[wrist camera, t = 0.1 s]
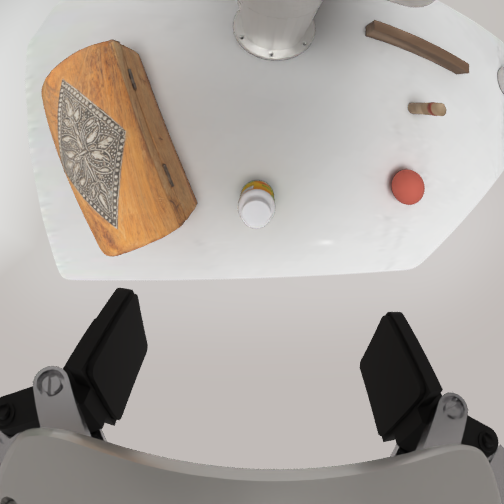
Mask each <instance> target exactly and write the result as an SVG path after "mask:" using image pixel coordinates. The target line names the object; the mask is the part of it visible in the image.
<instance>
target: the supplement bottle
mask: <svg viewBox="0 0 504 504" xmlns="http://www.w3.org/2000/svg"><path fill="white" fill-rule="evenodd" d="M238 212H239V215H240V217H241V218H242V220H243V222H244V223H245V224H246V225H247V226H248V227H251V228H255V229H258V228H262V227H264V226H266V225H267V224H268V223H269V221H270V220H271V219H272V217H273V216H274V213H275V200H274V193H273V190H272V188H271V187H270V186H269V185H268V184H267V183H266V182H264V181H260V180H254V181H251V182H249V183H247V184H246V185H245V186H244V187H243V189H242V191H241V195H240V199H239V202H238Z"/></svg>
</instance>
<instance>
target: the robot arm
mask: <svg viewBox="0 0 504 504" xmlns="http://www.w3.org/2000/svg"><path fill="white" fill-rule="evenodd" d="M388 1H391V2H394V3H397V4H400V5H403V6H408V7H424V6H427V5H429V4H431V3H433V2H434V1H435V0H388ZM322 2H323V0H238V4H239V10H238V12H237V14H236V15H235V18H234V22H233V30H234V34H235V37H236V39H237V41H238V42H239V44H240V45H241V46H242V47H243V48H244V49H245V50H246V51H248V52H249V53H250V54H252V55H254V56H257V57H259V58H263V59H267V60H286V59H290V58H293V57H296V56H297V55H299V54H301V53H302V52H304V51H305V50H306V49H307V48H308V47H309V45H310V44H311V42H312V41H313V38H314V35H315V24H314V20H313V18H314V16H315V14H316V12H317V10H318V9H319V7H320V5H321V3H322ZM241 37H243V39H240V38H241ZM302 44H305V46H303V45H302ZM271 54H272V55H273V57H270V55H271ZM146 352H147V340H146V336H145V331H144V326H143V321H142V317H141V311H140V306H139V300H138V296H137V295H136V294H134V292H133V290H130V289H124V288H117V289H116V290H115V292H114V293H113V295H112V296H111V298H110V299H109V300H108V302H107V303H106V305H105V306H104V308H103V309H102V311H101V312H100V314H99V315H98V317H97V318H96V319H94V321H93V322H92V323H91V325H90V326H89V328H88V329H87V331H86V332H85V334H84V335H83V337H82V339H81V340H80V342H79V343H78V345H77V346H76V348H75V350H74V352H73V353H72V355H71V356H70V358H69V360H68V361H67V363H66V365H65V366H64V368H63V369H62V368H59V367H57V366H49V367H46V368H43V369H42V370H40V371H39V372H38V373H37V374H36V376H35V378H34V381H33V386H32V387H30V388H27V389H24V390H21V391H18V392H15V393H12V394H9V395H6V396H3V397H1V398H0V504H504V448H503V447H502V446H501V445H500V446H498V437H497V435H496V433H495V432H494V430H492V429H491V428H490V427H488V426H485V425H484V424H482V423H480V422H479V421H477V420H475V419H473V418H471V417H469V416H468V408H467V405H466V403H465V401H464V399H463V398H462V397H460V396H459V395H458V394H455V393H446V394H444V395H443V396H442V395H441V391H442V388H441V385H440V383H439V381H438V379H437V377H436V375H435V373H434V371H433V369H432V367H431V365H430V363H429V361H428V359H427V357H426V355H425V353H424V351H423V349H422V347H421V345H420V343H419V342H418V340H417V338H416V336H415V334H414V333H413V331H412V329H411V327H410V325H409V324H408V322H407V320H406V318H405V317H404V315H403V314H402V313H401V312H388V313H387V314H386V315H385V316H383V317H382V318H381V321H380V323H379V325H378V327H377V330H376V332H375V334H374V336H373V338H372V340H371V342H370V344H369V346H368V348H367V350H366V352H365V354H364V356H363V358H362V359H361V362H360V370H361V373H362V377H363V380H364V383H365V387H366V390H367V393H368V397H369V401H370V404H371V408H372V412H373V415H374V419H375V423H376V426H377V431H378V434H379V435H380V436H382V439H383V442H386V441H391V440H394V439H396V443H397V444H396V447H395V449H394V450H393V452H392V454H391V456H390V457H388V458H383V459H378V460H373V461H367V462H362V463H355V464H349V465H341V466H332V467H322V468H308V469H247V468H233V467H232V468H231V467H222V466H213V465H205V464H198V463H192V462H186V461H180V460H175V459H169V458H165V457H160V456H156V455H152V454H147V453H144V452H140V451H136V450H132V449H129V448H125V447H121V446H118V445H115V444H112V443H109V442H107V441H106V438H105V436H104V434H103V431H102V428H103V425H104V423H108V424H111V425H115V423H116V420H120V419H121V417H122V415H123V412H124V409H125V406H126V404H127V401H128V398H129V396H130V393H131V390H132V388H133V385H134V383H135V380H136V377H137V375H138V372H139V370H140V367H141V365H142V362H143V360H144V357H145V355H146Z"/></svg>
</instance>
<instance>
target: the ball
mask: <svg viewBox="0 0 504 504" xmlns="http://www.w3.org/2000/svg"><path fill="white" fill-rule="evenodd" d="M424 189H425V188H424V182H423V180H422V178H421V177H420V175H419V174H418V173H416V172H415V171H412V170H402V171H399V172H398V173H397V174H396V175H395V176H394V178H393V180H392V192H393V194H394V196H395V198H396V199H397V200H398V201H400V202H401V203H403V204H406V205H412V204H415V203H417V202H418V201H420V200H421V198H422V197H423V194H424Z"/></svg>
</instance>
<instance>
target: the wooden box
mask: <svg viewBox="0 0 504 504" xmlns="http://www.w3.org/2000/svg"><path fill="white" fill-rule="evenodd" d="M42 99H43V104H44V109H45V113H46V117H47V121H48V124H49V128H50V131H51V134H52V137H53V140H54V144H55V146H56V149H57V152H58V155H59V158H60V160H61V163H62V166H63V169H64V172H65V173H66V176H67V178H68V181H69V183H70V186H71V188H72V190H73V192H74V195H75V197H76V199H77V201H78V204H79V206H80V208H81V210H82V212H83V214H84V216H85V219H86V221H87V223H88V225H89V227H90V229H91V231H92V233H93V235H94V237H95V239H96V241H97V243H98V245H99V247H100V249H101V250H102V252H103V253H104V254H106V255H107V256H118V255H121V254H123V253H127V252H130V251H132V250H135V249H138V248H140V247H143V246H145V245H147V244H149V243H152V242H154V241H156V240H159V239H161V238H163V237H165V236H166V235H168V234H170V233H171V232H173V231H175V230H176V229H177V228H179V227H180V226H182V225H183V223H184V222H185V220H187V219H188V217H189V216H190V214H191V213H192V211H193V210H194V209H195V207H196V205H197V201H196V198H195V196H194V194H193V191H192V189H191V186H190V184H189V182H188V179H187V177H186V175H185V172H184V170H183V167H182V165H181V163H180V160H179V158H178V155H177V153H176V151H175V148H174V146H173V143H172V141H171V138H170V135H169V133H168V130H167V128H166V125H165V123H164V120H163V117H162V115H161V112H160V110H159V108H158V105H157V102H156V99H155V97H154V94H153V91H152V89H151V86H150V83H149V81H148V78H147V75H146V73H145V70H144V67H143V64H142V62H141V59H140V57H139V54H137V53H136V52H135V51H133V50H131V49H130V48H128V47H125V46H124V45H121V44H120V42H118V41H115V40H109V41H106V42H101V43H98V44H94V45H91V46H88V47H86V48H84V49H81V50H79V51H77V52H76V53H74V54H72V55H71V56H69V57H68V58H66V59H65V60H64V61H62V62H61V63H60V64H59V65H57V66H56V67H55V68H54V69H53V70H52V71H51V72H50V73H49V75H48V76H47V77H46V79H45V81H44V84H43V87H42Z"/></svg>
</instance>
